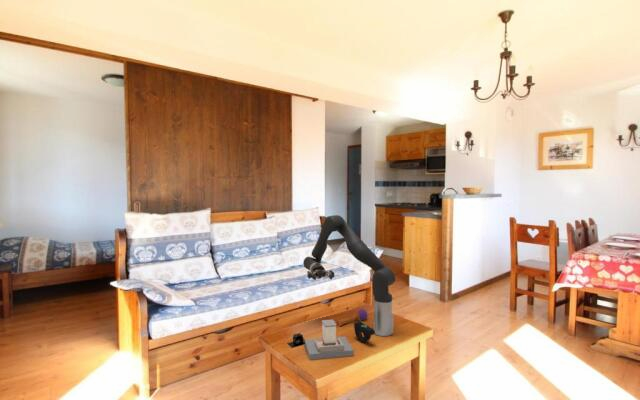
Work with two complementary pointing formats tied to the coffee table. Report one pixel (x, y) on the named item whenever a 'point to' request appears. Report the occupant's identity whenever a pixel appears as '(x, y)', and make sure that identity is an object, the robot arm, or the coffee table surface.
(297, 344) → the black notched block
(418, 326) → the coffee table surface
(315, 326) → the coffee table surface
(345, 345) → the dock
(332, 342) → the box with lid
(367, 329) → the controller
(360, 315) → the kendama
